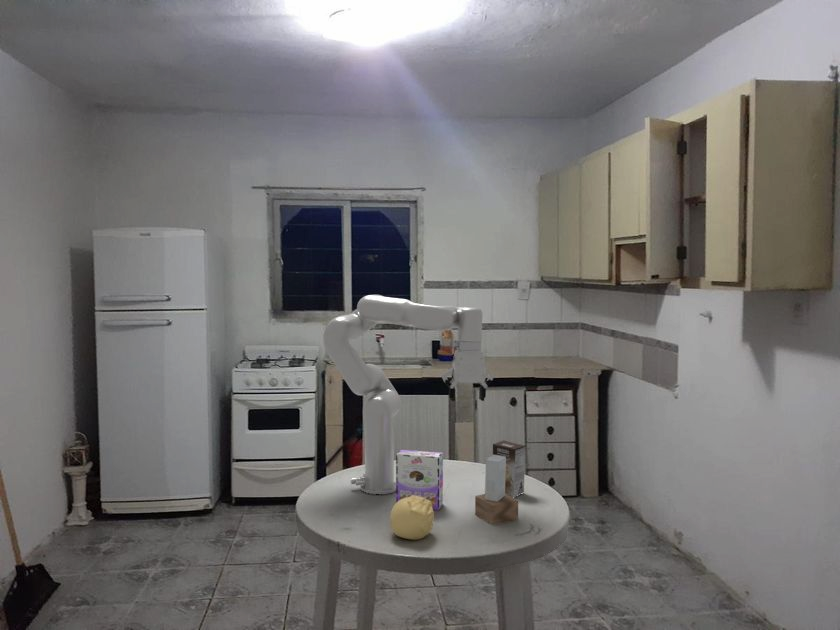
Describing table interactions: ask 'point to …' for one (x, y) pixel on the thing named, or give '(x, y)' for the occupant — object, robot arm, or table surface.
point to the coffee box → (512, 466)
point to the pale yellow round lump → (412, 517)
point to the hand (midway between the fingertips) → (467, 400)
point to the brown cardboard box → (496, 509)
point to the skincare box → (495, 478)
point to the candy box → (420, 476)
